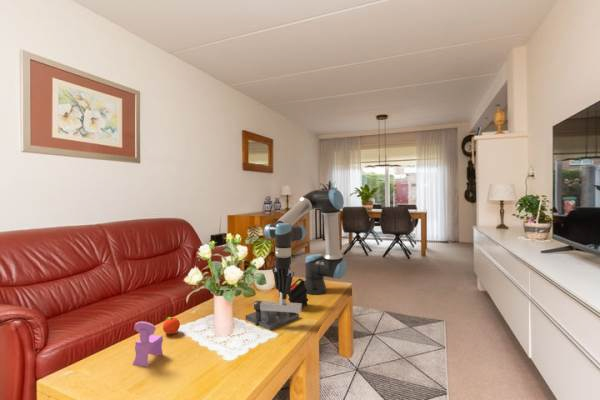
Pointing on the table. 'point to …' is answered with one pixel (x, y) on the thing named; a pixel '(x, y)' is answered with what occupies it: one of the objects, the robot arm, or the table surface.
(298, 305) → the swing arm
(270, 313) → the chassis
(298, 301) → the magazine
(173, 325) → the tomato
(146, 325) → the toy chair
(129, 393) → the table surface
